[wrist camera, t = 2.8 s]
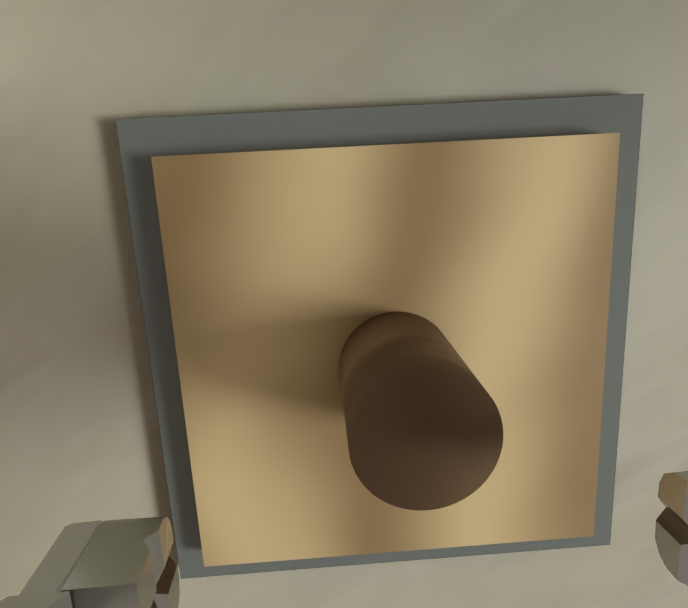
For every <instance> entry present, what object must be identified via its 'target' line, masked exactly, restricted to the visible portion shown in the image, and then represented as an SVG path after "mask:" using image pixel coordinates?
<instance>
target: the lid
mask: <svg viewBox="0 0 688 608" xmlns="http://www.w3.org/2000/svg"><path fill="white" fill-rule="evenodd" d="M619 144H620V133H606V134H586V135H567V136H547V137H528V138H508V139H488V140H469V141H449V142H430V143H410V144H391V145H371V146H351V147H332V148H312V149H293V150H273V151H254V152H234V153H214V154H195V155H175V156H156V157H151V160H152V168H153V176H154V184H155V191H156V199H157V207H158V214H159V222H160V230H161V238H162V245H163V253H164V261H165V268H166V276H167V284H168V292H169V299H170V307H171V315H172V322H173V330H174V338H175V346H176V353H177V361H178V369H179V376H180V384H181V392H182V400H183V407H184V415H185V423H186V430H187V438H188V446H189V454H190V461H191V469H192V477H193V484H194V492H195V500H196V508H197V515H198V523H199V531H200V538H201V546H202V554H203V562H204V567H207V566H220V565H232V564H245V563H258V562H271V561H283V560H296V559H309V558H322V557H334V556H347V555H360V554H372V553H385V552H398V551H411V550H423V549H436V548H449V547H462V546H474V545H487V544H500V543H513V542H525V541H538V540H551V539H563V538H576V537H589V536H594V523H595V508H596V493H597V478H598V463H599V447H600V432H601V417H602V402H603V387H604V371H605V356H606V341H607V326H608V311H609V295H610V280H611V265H612V250H613V235H614V219H615V204H616V189H617V174H618V159H619Z"/></svg>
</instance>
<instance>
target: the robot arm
mask: <svg viewBox="0 0 688 608" xmlns="http://www.w3.org/2000/svg"><path fill="white" fill-rule="evenodd" d="M658 497H659V499H660V500H661V501H662V503H663V504H664V506H665V507H666V508H665V509H664V511H663V512H662V513H661V515H660V516H659V517H658V518H657V520H656V531H655V540H656V543H657V547H658V551H659V554H660V557H661V559H662V560H663V562H664V564H665V566H666V567H667V569H668V570H669V571H670V572H671V574H672V575H673V576H674V577H675V578H676V579H677V580H678V581H680V582H682V583H684V584H686V585H688V471H683V472H675V473H666V474H664V475H663V477H662V479H661V481H660V483H659V492H658ZM173 542H174V538H173V532H172V527H171V522H170V520H169V519H168V517H167V516H166V517H151V518H136V519H122V520H107V521H92V522H82V523H73V524H70V525H68V526H66V527H65V528H64V529H63V531H62V532H61V534H60V535H59V537H58V538H57V540H56V541H55V543H54V544H53V546H52V547H51V548H50V550H49V551H48V553H47V554H46V556H45V557H44V559H43V560H42V562H41V563H40V565H39V566H38V568H37V569H36V571H35V572H34V574H33V575H32V577H31V578H30V580H29V581H28V582H27V584H26V585H25V587H24V588H23V590H22V591H21V593H20V594H19V596H10V597H7V598H5V599H3V600H2V601H0V608H178V605H179V595H180V593H179V574H178V566H177V564H176V563H175V562H174V561H173V560H172V559H171V558H170V557H169V553H170V550H171V548H172V545H173Z"/></svg>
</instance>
